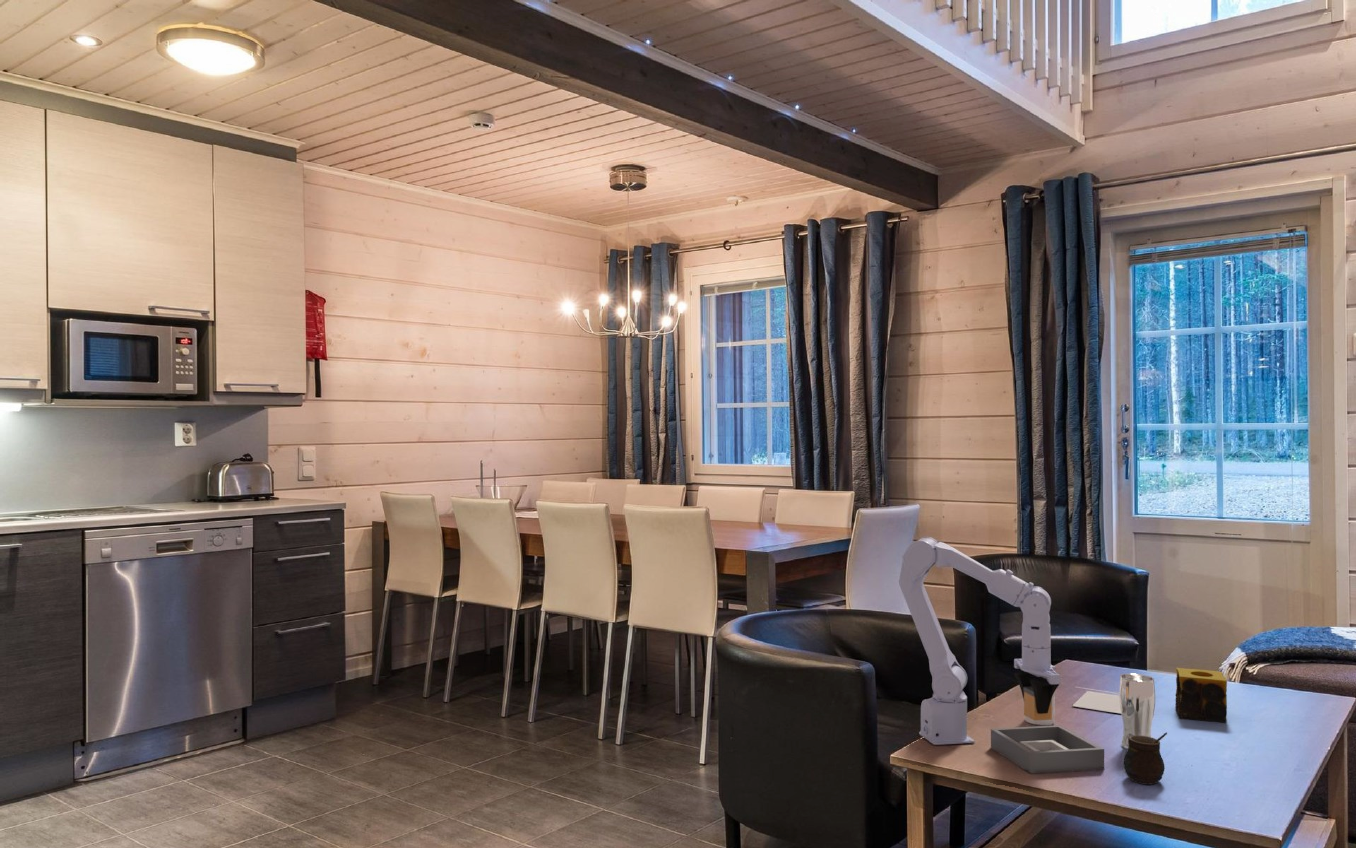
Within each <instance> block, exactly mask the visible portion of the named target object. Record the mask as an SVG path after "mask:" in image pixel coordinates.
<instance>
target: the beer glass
mask: <svg viewBox="0 0 1356 848" xmlns="http://www.w3.org/2000/svg"><path fill="white" fill-rule="evenodd" d="M1119 678H1120V679H1119V687H1118V688H1119V689H1118V691H1119V692H1118V693H1119V694H1118V695H1119V702H1120V709H1121V714H1120V715H1121V719H1122V725H1123V726H1122V727H1123V735H1122V739H1121V747H1122V748H1124V749H1126V750H1128V747H1129V744H1128V738H1129V737H1130V736H1134V735H1141V736H1148V737H1152V733H1151V732H1152V726H1153V725H1152V724H1153V720H1154V715H1155V708H1156V689H1155V678H1153V677H1152V676H1150V675H1145V674H1140V673H1122V674H1121V675H1120V677H1119Z"/></svg>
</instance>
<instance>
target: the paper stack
mask: <svg viewBox="0 0 1356 848" xmlns="http://www.w3.org/2000/svg"><path fill="white" fill-rule="evenodd" d="M1076 688H1078V689H1081V687H1079V686H1076ZM1083 689H1085V690H1087V691H1086V692H1085V693H1083V695H1082V696H1080V698H1079V699H1078V700H1077V701H1076V702H1074V703H1073V705H1072V707H1076V708H1082V709H1089V710H1094V711H1095V710H1096V711H1101V712H1107V713H1108V712H1109V713H1116V714H1120V715H1122V714H1121V709H1120V702H1119V692H1114V691H1113V692H1112V691H1106V690H1099V689H1093V688H1089V690H1088V688H1087V687H1083ZM1091 690H1092V691H1091ZM1111 693H1112V694H1111Z"/></svg>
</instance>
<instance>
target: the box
mask: <svg viewBox="0 0 1356 848" xmlns="http://www.w3.org/2000/svg"><path fill="white" fill-rule="evenodd" d="M990 748H991V749H992V750H994V751H995V752H997V753H998V754H1000V755H1001V756H1003V757H1005V758H1006V759H1007V760H1009V761H1010V762H1012V763H1014V764H1015V765H1017V767H1020V768H1021V769H1022V770H1024V771H1025V772H1027V773H1028V774H1030V775H1031V774H1033V775H1034V774H1049V773H1050V774H1051V773H1063V772H1064V773H1065V772H1078V771H1080V772H1081V771H1096V770H1098V771H1099V770H1105V748H1103V747H1101V746H1100V745H1097V744H1096V743H1094V742H1092V741H1090V740H1088V739H1086V738H1085V737H1084V736H1083V737H1082V736H1081V735H1079V734H1077V733H1075V732H1073V731H1071V730H1070V729H1067V728H1065V727H1063V725H1060V724H1059V725H1056V724H1055V725H1054V724H1053V725H1050V726H1037V725H1034V726H1019V727H1018V726H1017V727H1003V728H998V727H997V728H990Z"/></svg>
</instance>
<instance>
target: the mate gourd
mask: <svg viewBox="0 0 1356 848" xmlns="http://www.w3.org/2000/svg"><path fill="white" fill-rule="evenodd" d="M1167 735H1168V732H1167V731H1166V732H1165V733H1163V734H1162V735H1161V736H1159V737H1158V738H1154V737H1152V736H1151V737H1148V736H1141V735H1134V736H1130V737H1129V738H1128V744H1129V747H1128V749H1126V752H1125V754H1124V757H1123V768H1124V770H1125V774H1126V775H1127V776H1128V778H1130V780H1131V781H1133V782H1135V783H1138V784H1143V785H1155V784H1157V783H1158V782H1159V781H1161V780H1162V779H1163V776H1164V774H1165V773H1164V772H1165V769H1166V768H1165V762H1164V759H1163V757H1162V755H1161V752H1160V749H1161V742H1160V741H1161V740H1162V739H1164V738H1165V736H1167Z"/></svg>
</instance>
